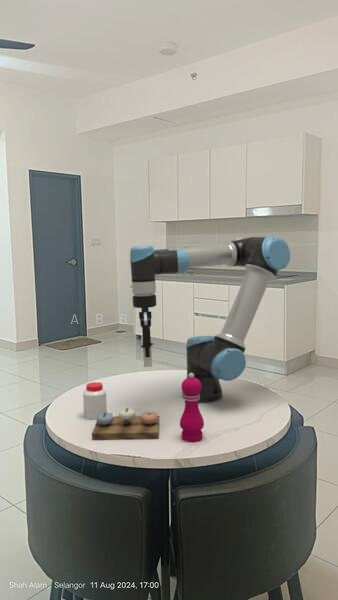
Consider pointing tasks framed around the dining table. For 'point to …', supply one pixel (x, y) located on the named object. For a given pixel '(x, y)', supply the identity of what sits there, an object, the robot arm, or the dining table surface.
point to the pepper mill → (191, 410)
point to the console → (126, 430)
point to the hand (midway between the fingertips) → (148, 366)
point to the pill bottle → (94, 400)
